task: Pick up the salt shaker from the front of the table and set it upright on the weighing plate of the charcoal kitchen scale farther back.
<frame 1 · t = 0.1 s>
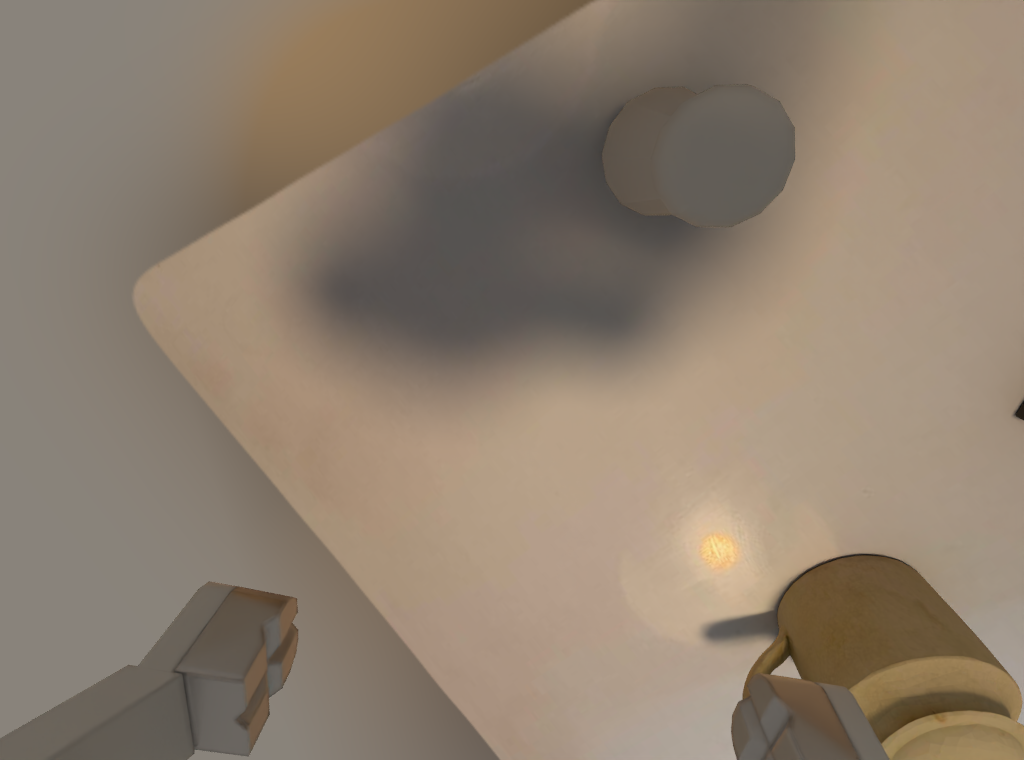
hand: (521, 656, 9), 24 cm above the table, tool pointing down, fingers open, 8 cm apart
sugar bowl: (826, 617, 40), on the table
salt shaker: (652, 153, 28), on the table
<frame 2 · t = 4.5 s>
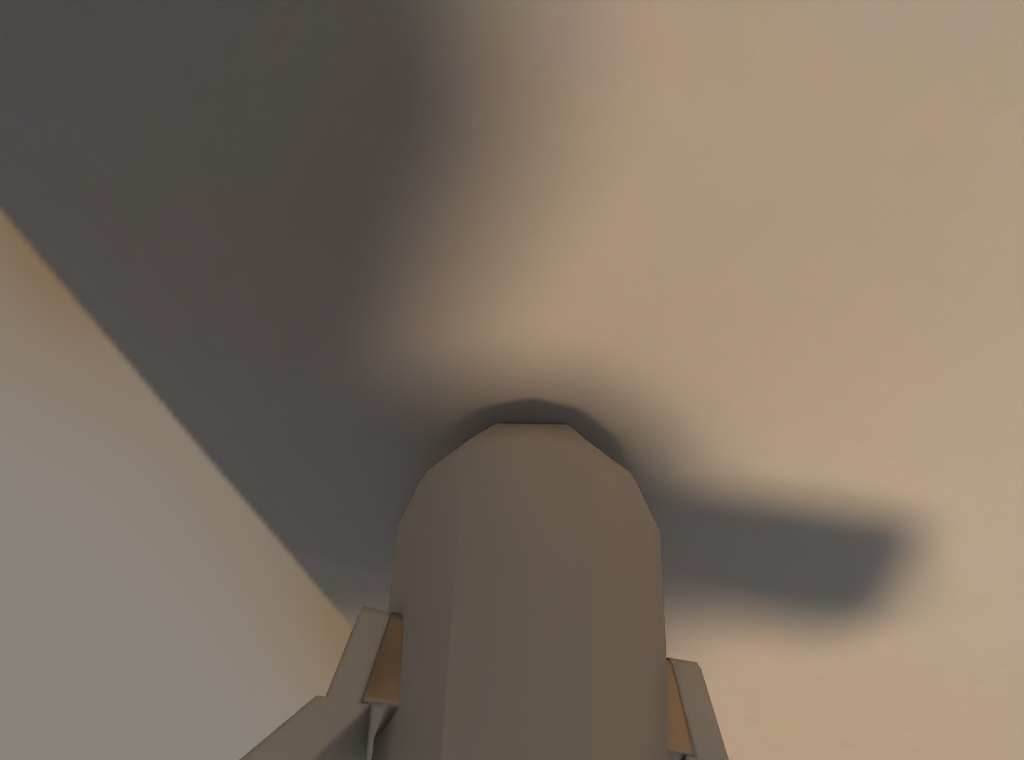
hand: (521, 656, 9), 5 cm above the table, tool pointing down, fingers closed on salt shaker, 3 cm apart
salt shaker: (531, 481, 14), on the table, touching gripper
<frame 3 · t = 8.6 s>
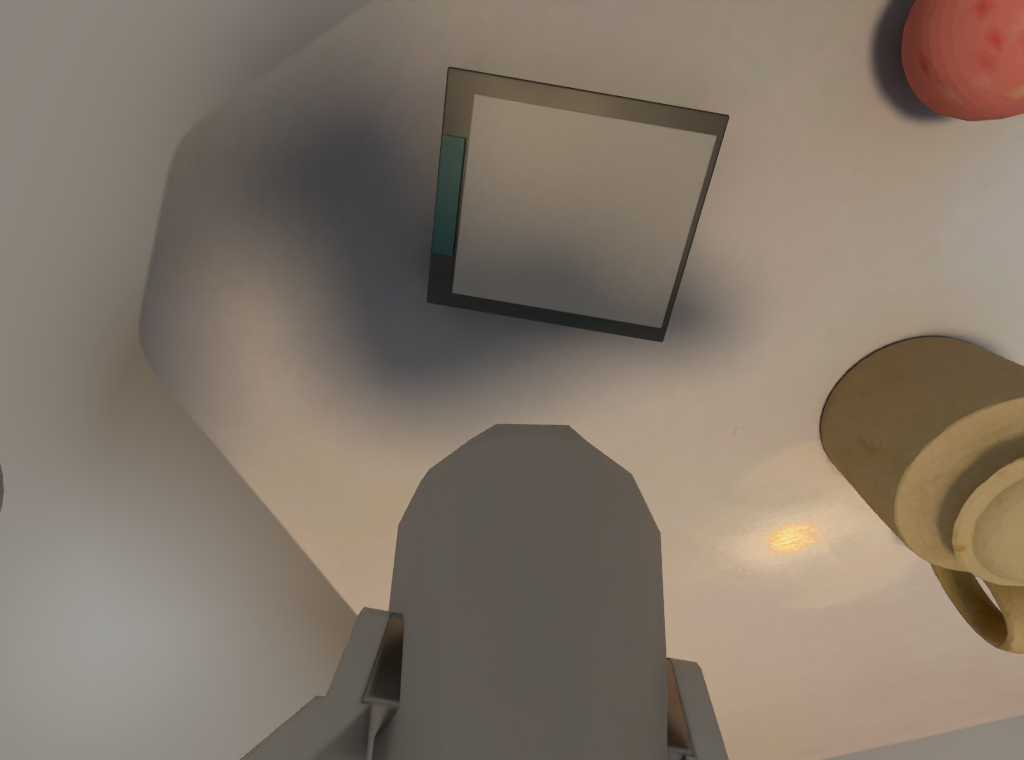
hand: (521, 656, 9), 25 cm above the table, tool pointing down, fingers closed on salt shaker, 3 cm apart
scale: (563, 211, 30), on the table
sugar bowl: (918, 431, 35), on the table
apple: (942, 41, 26), on the table
salt shaker: (531, 482, 14), point 20 cm above the table, touching gripper
when the fingers open (8 cm above the table, at t = 13.0 s): salt shaker stays where it is, resting on scale.
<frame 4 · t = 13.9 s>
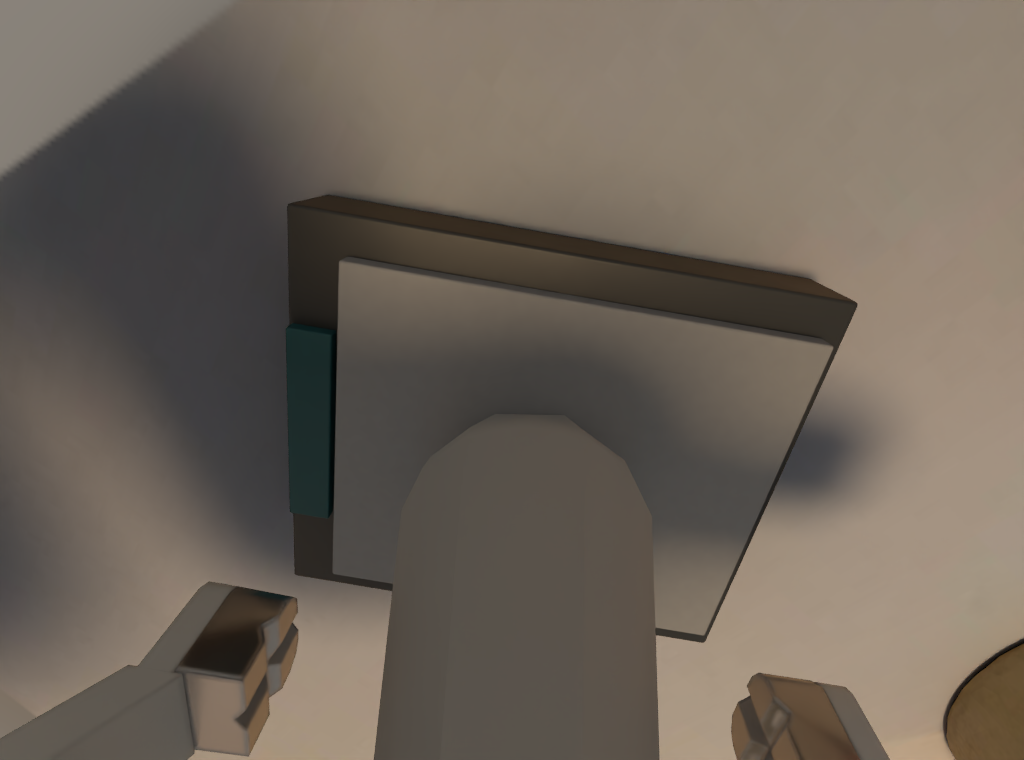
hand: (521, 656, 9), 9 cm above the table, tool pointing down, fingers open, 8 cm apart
scale: (533, 419, 17), on the table
salt shaker: (528, 470, 15), point 3 cm above the table, touching scale
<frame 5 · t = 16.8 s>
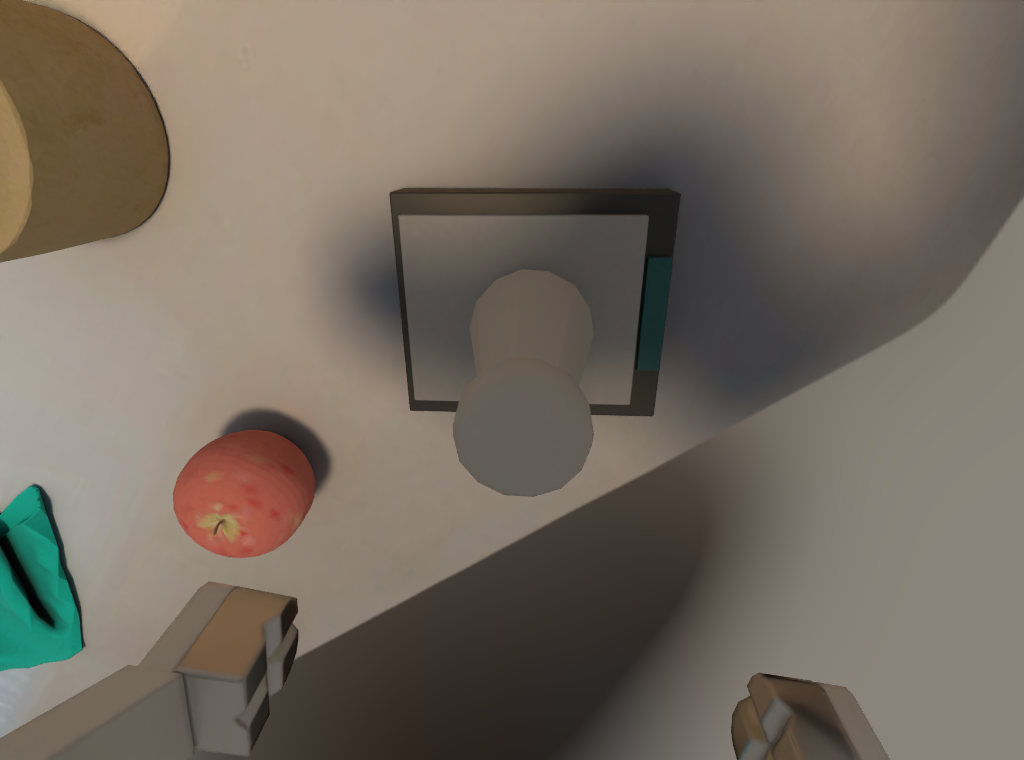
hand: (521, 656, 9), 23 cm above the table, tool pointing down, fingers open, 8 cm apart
scale: (532, 300, 30), on the table
sugar bowl: (35, 106, 27), on the table
cloth: (9, 599, 43), on the table
apple: (279, 454, 35), on the table
salt shaker: (532, 314, 27), point 3 cm above the table, touching scale
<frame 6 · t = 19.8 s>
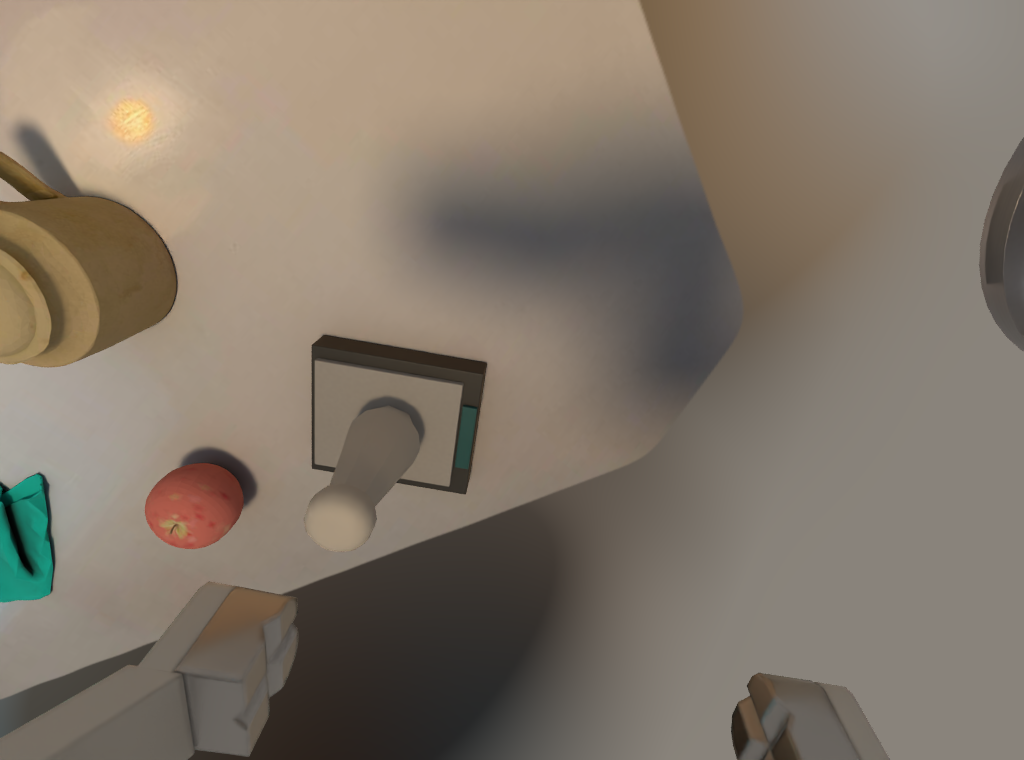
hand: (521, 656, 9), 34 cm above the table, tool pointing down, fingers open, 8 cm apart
scale: (400, 410, 46), on the table
sugar bowl: (92, 248, 42), on the table
apple: (222, 478, 51), on the table
salt shaker: (392, 426, 44), point 3 cm above the table, touching scale
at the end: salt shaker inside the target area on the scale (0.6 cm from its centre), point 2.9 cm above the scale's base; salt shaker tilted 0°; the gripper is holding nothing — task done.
